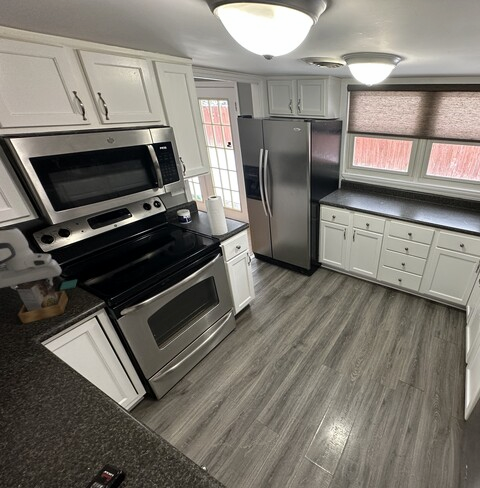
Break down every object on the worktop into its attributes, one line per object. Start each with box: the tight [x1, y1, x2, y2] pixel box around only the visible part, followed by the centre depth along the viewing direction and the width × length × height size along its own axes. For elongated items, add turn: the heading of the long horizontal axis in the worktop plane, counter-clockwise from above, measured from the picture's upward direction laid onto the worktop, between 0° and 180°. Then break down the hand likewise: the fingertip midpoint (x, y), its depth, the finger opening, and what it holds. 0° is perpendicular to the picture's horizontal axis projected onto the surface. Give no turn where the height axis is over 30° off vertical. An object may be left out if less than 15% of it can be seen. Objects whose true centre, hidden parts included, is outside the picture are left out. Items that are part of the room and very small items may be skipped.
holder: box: [17, 290, 69, 324], centre depth 122 cm, size 13×13×5 cm
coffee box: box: [14, 278, 59, 312], centre depth 120 cm, size 9×6×16 cm
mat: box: [59, 279, 78, 291], centre depth 141 cm, size 6×8×1 cm
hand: (36, 288), depth 118 cm, fingers open, 8 cm apart
